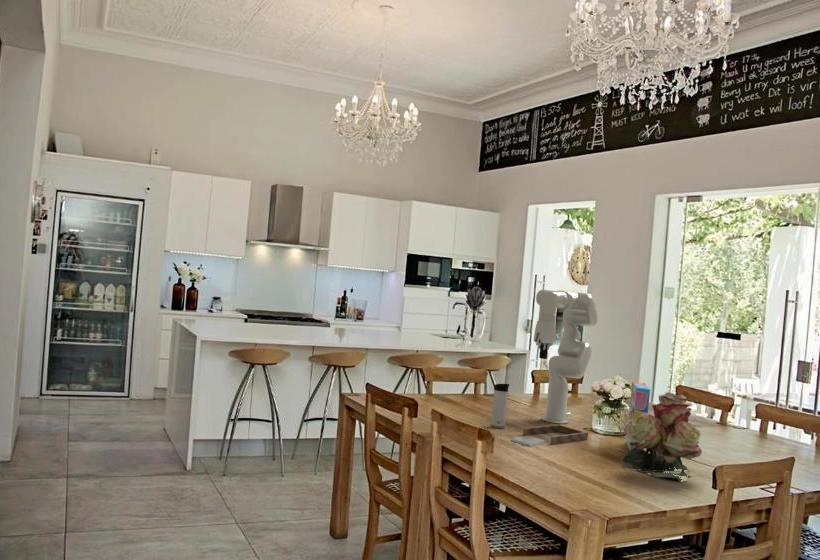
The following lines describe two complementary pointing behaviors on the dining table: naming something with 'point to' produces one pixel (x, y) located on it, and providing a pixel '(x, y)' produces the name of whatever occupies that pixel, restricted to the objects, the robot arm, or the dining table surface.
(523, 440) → the cover plate
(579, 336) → the robot arm
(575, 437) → the tray
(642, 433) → the rose bouquet
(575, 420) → the dining table surface
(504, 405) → the travel mug
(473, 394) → the dining table surface
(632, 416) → the game box
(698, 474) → the dining table surface
